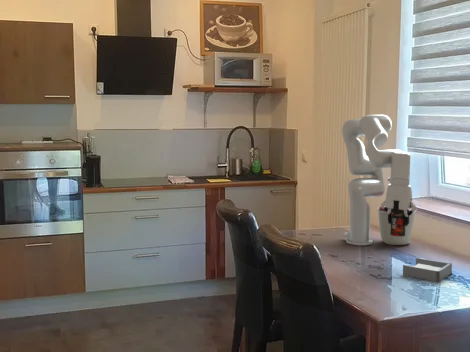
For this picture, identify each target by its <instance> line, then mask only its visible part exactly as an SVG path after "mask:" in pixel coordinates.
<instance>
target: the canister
mask: <svg viewBox="0 0 470 352" xmlns="http://www.w3.org/2000/svg"><path fill="white" fill-rule="evenodd" d="M376 210H377V212H378V222H379V223H378V225H379V231H380V232H379V233H380V239H381V242H383V243H384V244H386V245H390V246H404V245H408V244H409V243H410V242H411V239H412V234H413V228H414V227H413V226H414V219H415V214H416V213H417V210H416V211H415V212H414V213H412V214H411V215H410V216H409V224H408V225H407V226H406V227H405V236H402V237H398V236H392V235H390V231H391V224H389V223H388V214H387V212H386V211H385V210H384V208H383V207H382V206H381V205H380V206H378V207H377V209H376ZM411 210H412V208H410V209H409V211H411Z"/></svg>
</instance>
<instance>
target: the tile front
mask: <svg viewBox="0 0 470 352" xmlns="http://www.w3.org/2000/svg"><path fill="white" fill-rule="evenodd" d="M427 269H431V270H437V271H438V270H439V269H441V268H440V267H434V266H430V267H428V268H427Z"/></svg>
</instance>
